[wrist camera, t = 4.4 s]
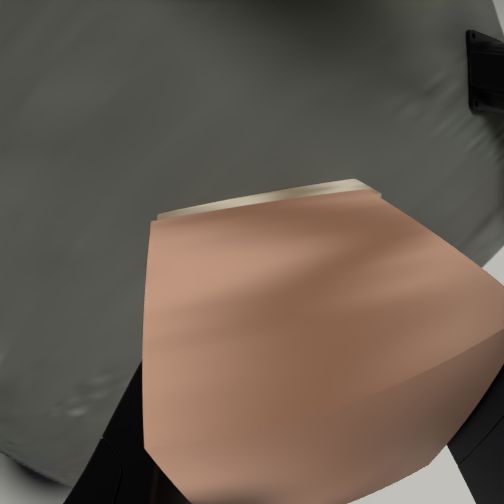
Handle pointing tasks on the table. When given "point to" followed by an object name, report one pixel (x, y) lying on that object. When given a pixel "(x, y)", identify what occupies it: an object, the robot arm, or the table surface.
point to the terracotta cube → (309, 348)
